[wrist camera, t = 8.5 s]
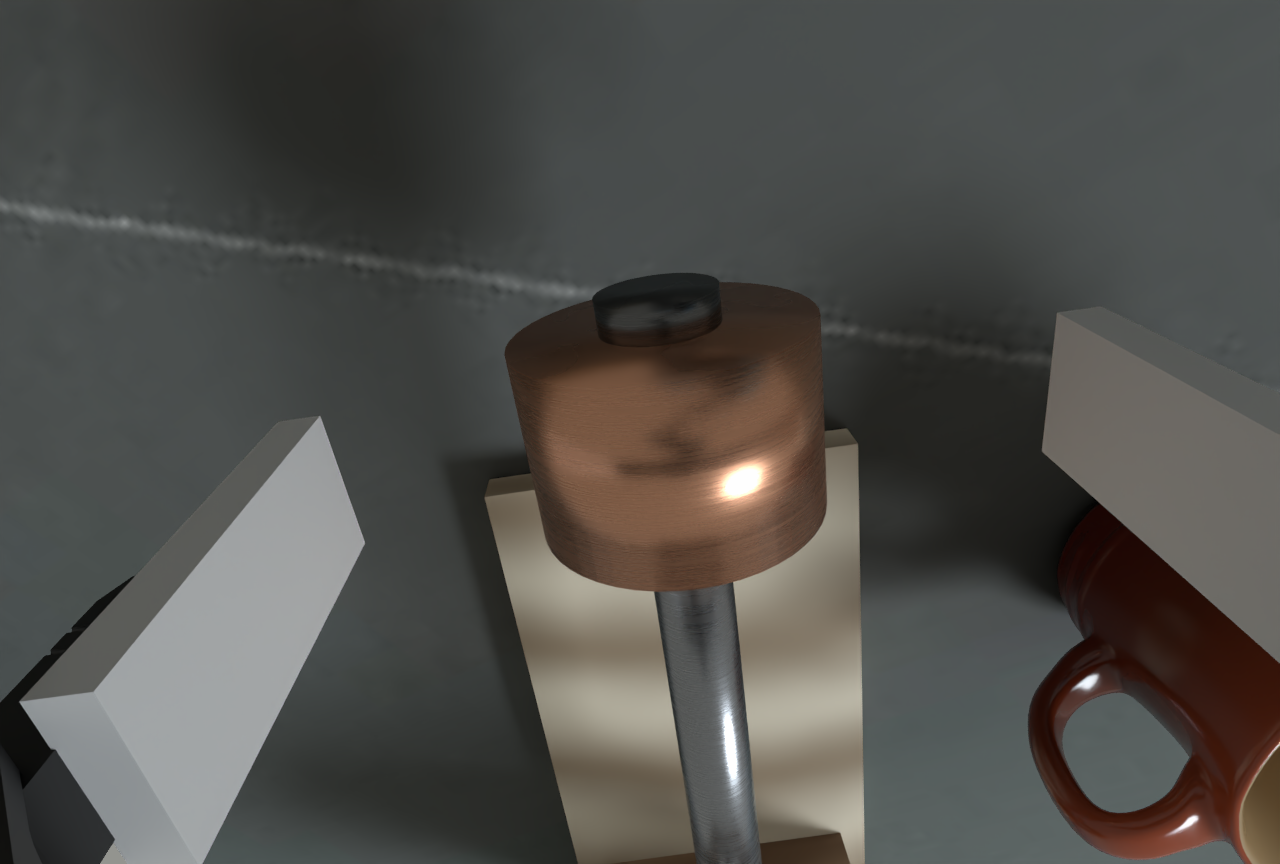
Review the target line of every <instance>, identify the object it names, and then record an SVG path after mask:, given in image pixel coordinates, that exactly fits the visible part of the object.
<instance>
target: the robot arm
mask: <svg viewBox="0 0 1280 864" xmlns="http://www.w3.org/2000/svg"><path fill="white" fill-rule="evenodd" d="M1042 452H1043V453H1044V454H1045V455H1046V456H1048V457H1049V458H1050V459H1051V460H1052V461H1053V462H1054V463H1055V464H1057V465H1058V466H1059V467H1060V468H1061V469H1062V470H1063V471H1064V472H1065V473H1067V474H1068V475H1069V476H1070V477H1071V478H1072V479H1073V480H1074V481H1076V482H1077V483H1078V484H1079V485H1080V486H1081V487H1082V488H1083V489H1085V490H1086V491H1087V492H1088V493H1089V494H1090V495H1091V496H1092V497H1094V498H1095V499H1096V500H1097V501H1098V502H1099V503H1100V504H1101V505H1103V506H1104V507H1105V508H1106V509H1107V510H1108V511H1109V512H1110V513H1112V514H1113V515H1114V516H1115V517H1116V518H1117V519H1118V520H1119V521H1121V522H1122V523H1123V524H1124V525H1125V526H1126V527H1127V528H1128V529H1129V530H1131V531H1132V532H1133V533H1134V534H1135V535H1136V536H1137V537H1138V538H1140V539H1141V540H1142V541H1143V542H1144V543H1145V544H1146V545H1147V546H1149V547H1150V548H1151V549H1152V550H1153V551H1154V552H1155V553H1156V554H1158V555H1159V556H1160V557H1161V558H1162V559H1163V560H1164V561H1165V562H1167V563H1168V564H1169V565H1170V566H1171V567H1172V568H1173V569H1174V570H1176V571H1177V572H1178V573H1179V574H1180V575H1181V576H1182V577H1183V578H1185V579H1186V580H1187V581H1188V582H1189V583H1190V584H1191V585H1192V586H1193V587H1195V588H1196V589H1197V590H1198V591H1199V592H1200V593H1201V594H1202V595H1204V596H1205V597H1206V598H1207V599H1208V600H1209V601H1210V602H1211V603H1213V604H1214V605H1215V606H1216V607H1217V608H1218V609H1219V610H1220V611H1222V612H1223V613H1224V614H1225V615H1226V616H1227V617H1228V618H1229V619H1231V620H1232V621H1233V622H1234V623H1235V624H1236V625H1237V626H1238V627H1240V628H1241V629H1242V630H1243V631H1244V632H1245V633H1246V634H1247V635H1249V636H1250V637H1251V638H1252V639H1253V640H1254V641H1255V642H1256V643H1258V644H1259V645H1260V646H1261V647H1262V648H1263V649H1264V650H1265V651H1266V652H1268V653H1269V654H1270V655H1271V656H1272V657H1273V658H1274V659H1275V660H1277V661H1278V662H1279V663H1280V394H1279V393H1277V392H1275V391H1273V390H1271V389H1269V388H1267V387H1265V386H1263V385H1261V384H1259V383H1257V382H1255V381H1253V380H1251V379H1249V378H1247V377H1245V376H1243V375H1241V374H1239V373H1236V372H1234V371H1232V370H1230V369H1228V368H1226V367H1224V366H1222V365H1220V364H1218V363H1216V362H1214V361H1212V360H1210V359H1208V358H1206V357H1204V356H1202V355H1200V354H1198V353H1196V352H1194V351H1191V350H1189V349H1187V348H1185V347H1183V346H1181V345H1179V344H1177V343H1175V342H1173V341H1171V340H1169V339H1167V338H1165V337H1163V336H1161V335H1159V334H1157V333H1155V332H1153V331H1151V330H1149V329H1147V328H1144V327H1142V326H1140V325H1138V324H1136V323H1134V322H1132V321H1130V320H1128V319H1126V318H1124V317H1122V316H1120V315H1118V314H1116V313H1114V312H1112V311H1110V310H1108V309H1106V308H1104V307H1102V306H1100V307H1093V308H1086V309H1079V310H1072V311H1065V312H1057V319H1056V328H1055V337H1054V346H1053V355H1052V364H1051V373H1050V382H1049V391H1048V400H1047V409H1046V418H1045V427H1044V436H1043V445H1042ZM364 544H365V542H364V539H363V536H362V533H361V530H360V527H359V525H358V522H357V519H356V516H355V513H354V510H353V508H352V505H351V502H350V499H349V496H348V493H347V491H346V488H345V485H344V482H343V479H342V476H341V474H340V471H339V468H338V465H337V462H336V460H335V457H334V454H333V451H332V448H331V445H330V443H329V440H328V437H327V434H326V431H325V428H324V426H323V423H322V420H321V417H320V416H315V417H307V418H300V419H293V420H286V421H279V422H277V423H276V424H275V425H274V427H273V428H272V429H271V430H270V431H269V432H268V433H267V434H266V435H265V436H264V437H263V438H262V440H261V441H260V442H259V443H258V444H257V445H256V446H255V447H254V448H253V449H252V450H251V451H250V453H249V454H248V455H247V456H246V457H245V458H244V459H243V460H242V461H241V462H240V463H239V464H238V466H237V467H236V468H235V469H234V470H233V471H232V472H231V473H230V474H229V475H228V476H227V477H226V478H225V480H224V481H223V482H222V483H221V484H220V485H219V486H218V487H217V488H216V489H215V490H214V491H213V493H212V494H211V495H210V496H209V497H208V498H207V499H206V500H205V501H204V502H203V503H202V504H201V506H200V507H199V508H198V509H197V510H196V511H195V512H194V513H193V514H192V515H191V516H190V517H189V519H188V520H187V521H186V522H185V523H184V524H183V525H182V526H181V527H180V528H179V529H178V530H177V531H176V533H175V534H174V535H173V536H172V537H171V538H170V539H169V540H168V541H167V542H166V543H165V544H164V546H163V547H162V548H161V549H160V550H159V551H158V552H157V553H156V554H155V555H154V556H153V557H152V559H151V560H150V561H149V562H148V563H147V564H146V565H145V566H144V567H143V568H142V569H141V570H140V572H139V573H138V574H137V575H136V576H133V577H131V578H130V579H128V580H127V581H125V582H124V583H122V584H121V585H120V586H118V587H117V588H115V589H114V590H112V591H111V592H109V593H108V594H107V595H105V596H104V597H102V598H101V599H99V600H98V601H97V602H96V603H95V604H94V605H93V606H92V607H91V608H90V609H89V610H88V611H87V612H86V613H85V614H84V615H83V616H82V617H81V618H80V619H79V621H78V622H77V623H76V624H75V625H74V626H73V627H72V632H71V633H66V634H65V635H64V636H63V637H62V638H61V639H60V640H59V642H58V643H57V644H56V645H55V646H54V647H53V648H52V649H51V655H46V656H44V657H43V658H42V659H41V660H40V661H39V663H38V664H37V665H36V666H35V667H34V668H33V669H32V670H31V671H30V672H29V673H28V674H27V675H26V676H25V677H24V678H23V679H22V680H21V681H20V682H19V684H18V685H17V686H16V687H15V688H14V689H13V690H12V691H11V692H10V693H9V694H8V695H7V696H6V697H5V698H4V699H3V700H2V701H1V702H0V864H100V863H101V861H102V859H103V858H104V856H105V855H106V853H107V852H108V850H109V848H110V847H111V845H112V844H113V843H114V845H115V846H116V848H117V849H118V850H119V852H120V854H121V855H122V857H123V858H124V860H125V861H126V862H127V864H202V863H203V861H204V859H205V857H206V855H207V853H208V852H209V850H210V848H211V846H212V844H213V842H214V840H215V838H216V836H217V834H218V832H219V830H220V828H221V826H222V824H223V822H224V820H225V818H226V816H227V814H228V812H229V810H230V808H231V806H232V804H233V802H234V800H235V798H236V796H237V794H238V792H239V790H240V788H241V787H242V785H243V783H244V781H245V779H246V777H247V775H248V773H249V771H250V769H251V767H252V765H253V763H254V761H255V759H256V757H257V755H258V753H259V751H260V749H261V747H262V745H263V743H264V741H265V739H266V737H267V735H268V733H269V731H270V729H271V727H272V725H273V723H274V722H275V720H276V718H277V716H278V714H279V712H280V710H281V708H282V706H283V704H284V702H285V700H286V698H287V696H288V694H289V692H290V690H291V688H292V686H293V684H294V682H295V680H296V678H297V676H298V674H299V672H300V670H301V668H302V666H303V664H304V662H305V660H306V658H307V657H308V655H309V653H310V651H311V649H312V647H313V645H314V643H315V641H316V639H317V637H318V635H319V633H320V631H321V629H322V627H323V625H324V623H325V621H326V619H327V617H328V615H329V613H330V611H331V609H332V607H333V605H334V603H335V601H336V599H337V597H338V595H339V593H340V592H341V590H342V588H343V586H344V584H345V582H346V580H347V578H348V576H349V574H350V572H351V570H352V568H353V566H354V564H355V562H356V560H357V558H358V556H359V554H360V552H361V550H362V548H363V546H364Z"/></svg>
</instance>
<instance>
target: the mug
mask: <svg viewBox="0 0 1280 864" xmlns="http://www.w3.org/2000/svg"><path fill="white" fill-rule="evenodd" d="M1057 581H1058V587H1059V592H1060V595H1061V598H1062V600H1063V602H1064V604H1065V606H1066V608H1067V610H1068V613H1069V615H1070V617H1071V619H1072V621H1073V623H1074V624H1075V626H1076V627H1077V629H1078V630H1079V631H1080V633H1081V634H1082V636H1083V638H1084V640H1083V641H1082V642H1080V643H1078V644H1077V645H1076V646H1074V647H1073V648H1071V649H1070V650H1069V651H1068V652H1067V653H1066V654H1065V655H1064V656H1063V657H1062V658H1061V659H1060V660H1059V661H1058V662H1057V664H1056V665H1055V666H1054V667H1053V669H1052V670H1051V671H1050V672H1049V673H1048V675H1047V676H1046V677H1045V678H1044V680H1043V681H1042V682H1041V684H1040V685H1039V687H1038V688H1037V690H1036V691H1035V694H1034V696H1033V698H1032V701H1031V704H1030V708H1029V714H1028V737H1029V744H1030V748H1031V752H1032V756H1033V759H1034V762H1035V765H1036V768H1037V770H1038V772H1039V775H1040V777H1041V779H1042V781H1043V783H1044V786H1045V788H1046V789H1047V791H1048V793H1049V795H1050V797H1051V799H1052V801H1053V802H1054V804H1055V805H1056V807H1057V808H1058V810H1059V811H1060V813H1061V815H1062V816H1063V818H1064V819H1065V820H1066V821H1067V823H1068V824H1069V825H1070V826H1071V828H1072V829H1073V830H1074V831H1075V832H1076V833H1077V834H1078V835H1079V836H1080V837H1082V838H1083V839H1084V840H1085V841H1086V842H1087V843H1088V844H1090V845H1091V846H1093V847H1095V848H1096V849H1098V850H1099V851H1101V852H1104V853H1106V854H1109V855H1112V856H1114V857H1119V858H1124V859H1130V860H1148V859H1155V858H1160V857H1164V856H1168V855H1171V854H1174V853H1177V852H1181V851H1184V850H1188V849H1192V848H1196V847H1200V846H1202V845H1205V844H1208V843H1211V842H1214V841H1226V842H1228V843H1229V844H1231V845H1232V847H1233V848H1234V849H1235V851H1236V853H1237V854H1238V856H1239V857H1240V858H1241V860H1242V861H1243V863H1244V864H1280V663H1279V662H1278V661H1277V660H1275V659H1274V658H1273V657H1272V656H1271V655H1270V654H1269V653H1268V652H1266V651H1265V650H1264V649H1263V648H1262V647H1261V646H1260V645H1259V644H1258V643H1256V642H1255V641H1254V640H1253V639H1252V638H1251V637H1250V636H1249V635H1247V634H1246V633H1245V632H1244V631H1243V630H1242V629H1241V628H1240V627H1238V626H1237V625H1236V624H1235V623H1234V622H1233V621H1232V620H1231V619H1229V618H1228V617H1227V616H1226V615H1225V614H1224V613H1223V612H1222V611H1220V610H1219V609H1218V608H1217V607H1216V606H1215V605H1214V604H1213V603H1211V602H1210V601H1209V600H1208V599H1207V598H1206V597H1205V596H1204V595H1202V594H1201V593H1200V592H1199V591H1198V590H1197V589H1196V588H1195V587H1193V586H1192V585H1191V584H1190V583H1189V582H1188V581H1187V580H1186V579H1185V578H1183V577H1182V576H1181V575H1180V574H1179V573H1178V572H1177V571H1176V570H1174V569H1173V568H1172V567H1171V566H1170V565H1169V564H1168V563H1167V562H1165V561H1164V560H1163V559H1162V558H1161V557H1160V556H1159V555H1158V554H1156V553H1155V552H1154V551H1153V550H1152V549H1151V548H1150V547H1149V546H1147V545H1146V544H1145V543H1144V542H1143V541H1142V540H1141V539H1140V538H1138V537H1137V536H1136V535H1135V534H1134V533H1133V532H1132V531H1131V530H1129V529H1128V528H1127V527H1126V526H1125V525H1124V524H1123V523H1122V522H1121V521H1119V520H1118V519H1117V518H1116V517H1115V516H1114V515H1113V514H1112V513H1110V512H1109V511H1108V510H1107V509H1106V508H1105V507H1104V506H1103V505H1101V504H1100V503H1098V504H1097V505H1096V506H1094V507H1093V508H1092V509H1091V510H1090V511H1089V512H1088V513H1087V514H1086V515H1085V516H1084V517H1083V519H1082V520H1081V521H1080V522H1079V523H1078V525H1077V526H1076V527H1075V529H1074V530H1073V532H1072V533H1071V535H1070V537H1069V539H1068V540H1067V542H1066V544H1065V547H1064V549H1063V551H1062V554H1061V557H1060V560H1059V563H1058V568H1057ZM1110 693H1125V694H1127V695H1129V696H1131V697H1133V698H1134V699H1135V700H1137V701H1138V702H1139V703H1140V704H1141V705H1142V706H1143V707H1144V708H1146V709H1147V710H1148V711H1149V712H1150V713H1151V714H1152V715H1153V716H1154V717H1155V718H1156V719H1157V720H1158V721H1159V722H1160V723H1161V724H1162V725H1163V727H1164V728H1165V729H1166V730H1167V731H1168V732H1169V733H1170V734H1171V735H1172V736H1173V737H1174V738H1175V739H1176V741H1177V742H1178V743H1179V744H1180V745H1181V746H1182V748H1183V749H1184V750H1185V752H1186V753H1187V754H1188V756H1189V759H1188V761H1187V763H1186V764H1185V766H1184V768H1183V770H1182V771H1181V773H1180V775H1179V777H1178V779H1177V781H1176V783H1175V784H1174V786H1173V788H1172V789H1171V790H1170V791H1169V792H1168V793H1167V794H1166V795H1165V796H1164V797H1163V798H1162V799H1160V800H1159V801H1157V802H1155V803H1154V804H1152V805H1150V806H1148V807H1146V808H1143V809H1140V810H1137V811H1133V812H1128V813H1113V812H1109V811H1106V810H1103V809H1101V808H1100V807H1098V806H1096V805H1095V804H1094V803H1093V802H1092V801H1091V800H1090V799H1089V798H1088V797H1087V796H1086V794H1085V793H1084V792H1083V790H1082V789H1081V788H1080V786H1079V784H1078V783H1077V781H1076V779H1075V777H1074V776H1073V774H1072V772H1071V770H1070V768H1069V766H1068V763H1067V761H1066V758H1065V755H1064V751H1063V745H1062V738H1063V732H1064V728H1065V726H1066V723H1067V721H1068V720H1069V718H1070V716H1071V715H1072V714H1073V713H1074V712H1075V711H1076V710H1077V709H1078V708H1079V707H1080V706H1081V705H1083V704H1084V703H1086V702H1088V701H1090V700H1092V699H1094V698H1096V697H1099V696H1102V695H1106V694H1110Z"/></svg>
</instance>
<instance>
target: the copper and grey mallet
mask: <svg viewBox="0 0 1280 864" xmlns="http://www.w3.org/2000/svg"><path fill="white" fill-rule="evenodd" d="M505 359H506V363H507V368H508V372H509V377H510V381H511V386H512V390H513V395H514V399H515V404H516V408H517V413H518V417H519V422H520V426H521V431H522V435H523V440H524V444H525V449H526V453H527V458H528V462H529V467H530V471H531V476H532V480H533V485H534V489H535V494H536V498H537V503H538V507H539V512H540V516H541V521H542V525H543V530H544V534H545V538H546V542H547V545H548V546H549V548H550V550H551V552H552V553H553V555H554V556H555V557H556V558H557V559H558V560H559V561H560V562H561V563H562V564H563V565H565V566H566V567H567V568H569V569H570V570H572V571H573V572H575V573H577V574H579V575H581V576H583V577H585V578H588V579H590V580H593V581H595V582H598V583H601V584H605V585H609V586H613V587H617V588H624V589H630V590H638V591H653V592H654V595H655V601H656V608H657V614H658V621H659V627H660V633H661V640H662V646H663V653H664V659H665V665H666V672H667V678H668V685H669V691H670V697H671V704H672V710H673V717H674V723H675V729H676V736H677V742H678V749H679V755H680V761H681V768H682V774H683V781H684V787H685V793H686V800H687V806H688V813H689V819H690V825H691V832H692V838H693V845H694V851H695V857H696V864H762V860H761V850H760V840H759V831H758V821H757V811H756V801H755V791H754V781H753V772H752V762H751V752H750V742H749V732H748V722H747V712H746V703H745V693H744V683H743V673H742V663H741V653H740V644H739V634H738V624H737V614H736V604H735V594H734V585H733V582H735V581H739V580H742V579H745V578H748V577H750V576H753V575H756V574H759V573H761V572H763V571H766V570H768V569H770V568H772V567H774V566H776V565H778V564H780V563H781V562H783V561H785V560H786V559H788V558H790V557H791V556H793V555H794V554H795V553H797V552H798V551H799V550H800V549H802V548H803V547H804V546H805V545H806V544H807V543H808V542H809V541H810V540H811V539H812V538H813V537H814V536H815V535H816V533H817V531H818V530H819V528H820V527H821V525H822V523H823V520H824V518H825V515H826V509H827V485H826V457H825V429H824V402H823V374H822V347H821V319H820V311H819V308H818V307H817V305H816V304H815V303H814V302H813V301H812V300H810V299H809V298H807V297H805V296H803V295H801V294H799V293H796V292H794V291H791V290H787V289H783V288H779V287H774V286H768V285H760V284H751V283H732V282H719V281H718V280H717V279H716V278H714V277H712V276H709V275H704V274H696V273H670V274H659V275H651V276H645V277H640V278H635V279H630V280H626V281H623V282H619V283H616V284H613V285H611V286H608V287H606V288H604V289H602V290H600V291H599V292H597V293H596V294H595V295H594V296H593V298H592V300H590V301H586V302H583V303H579V304H576V305H573V306H570V307H567V308H565V309H562V310H559V311H557V312H554V313H552V314H550V315H547V316H545V317H543V318H541V319H539V320H537V321H535V322H533V323H531V324H530V325H528V326H527V327H525V328H523V329H522V330H521V331H520V332H518V333H517V334H516V335H515V336H514V337H513V338H512V339H511V340H510V341H509V343H508V344H507V346H506V348H505Z"/></svg>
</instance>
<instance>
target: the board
mask: <svg viewBox="0 0 1280 864" xmlns="http://www.w3.org/2000/svg"><path fill="white" fill-rule="evenodd" d="M825 457H826V485H827V509H826V515H825V518H824V520H823V523H822V525H821V527H820V528H819V530H818V531H817V533H816V535H815V536H814V537H813V538H812V539H811V540H810V541H809V542H808V543H807V544H806V545H805V546H804V547H803V548H802V549H800V550H799V551H798V552H797V553H795V554H794V555H793V556H791V557H790V558H788V559H786V560H785V561H783V562H781V563H780V564H778V565H776V566H774V567H772V568H770V569H768V570H766V571H763V572H761V573H759V574H756V575H753V576H750V577H748V578H745V579H742V580H739V581H735V582H733V585H734V594H735V604H736V614H737V624H738V634H739V644H740V653H741V663H742V673H743V683H744V693H745V703H746V712H747V722H748V732H749V742H750V752H751V762H752V772H753V781H754V791H755V801H756V811H757V821H758V831H759V840H760V843H767V842H774V841H782V840H789V839H796V838H804V837H811V836H818V835H826V834H833V833H841V836H842V840H843V843H844V846H845V849H846V852H847V855H848V858H849V861H850V864H865V855H864V792H863V728H862V665H861V602H860V538H859V475H858V443H857V442H856V440H855V439H854V437H853V436H852V435H851V433H850V432H849V431H848V429H847V428H845V429H838V430H831V431H825ZM485 501H486V505H487V509H488V513H489V517H490V521H491V525H492V529H493V533H494V537H495V540H496V544H497V548H498V552H499V556H500V560H501V564H502V568H503V572H504V576H505V580H506V584H507V587H508V591H509V595H510V599H511V603H512V607H513V611H514V615H515V619H516V623H517V627H518V631H519V634H520V638H521V642H522V646H523V650H524V654H525V658H526V662H527V666H528V670H529V674H530V678H531V682H532V685H533V689H534V693H535V697H536V701H537V705H538V709H539V713H540V717H541V721H542V725H543V729H544V732H545V736H546V740H547V744H548V748H549V752H550V756H551V760H552V764H553V768H554V772H555V776H556V779H557V783H558V787H559V791H560V795H561V799H562V803H563V807H564V811H565V815H566V819H567V823H568V826H569V830H570V834H571V838H572V842H573V846H574V850H575V854H576V858H577V862H578V864H613V863H620V862H627V861H635V860H642V859H649V858H657V857H664V856H672V855H679V854H686V853H694V852H695V851H694V845H693V838H692V832H691V825H690V819H689V813H688V806H687V800H686V793H685V787H684V781H683V774H682V768H681V761H680V755H679V749H678V742H677V736H676V729H675V723H674V717H673V710H672V704H671V697H670V691H669V685H668V678H667V672H666V665H665V659H664V653H663V646H662V640H661V633H660V627H659V621H658V614H657V608H656V601H655V595H654V592H653V591H638V590H630V589H624V588H617V587H613V586H609V585H605V584H601V583H598V582H595V581H593V580H590V579H588V578H585V577H583V576H581V575H579V574H577V573H575V572H573V571H572V570H570V569H569V568H567V567H566V566H565V565H563V564H562V563H561V562H560V561H559V560H558V559H557V558H556V557H555V556H554V555H553V553H552V552H551V550H550V548H549V546H548V545H547V542H546V538H545V534H544V530H543V525H542V521H541V516H540V512H539V507H538V503H537V498H536V494H535V489H534V485H533V480H532V476H531V473H530V474H523V475H516V476H509V477H502V478H495V479H489V483H488V486H487V490H486V493H485Z"/></svg>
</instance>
